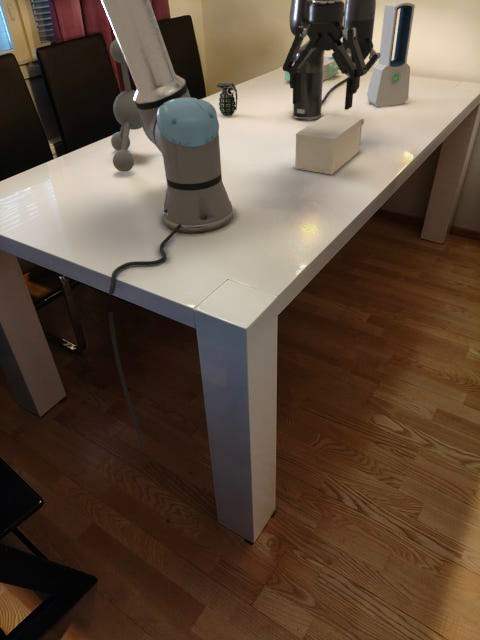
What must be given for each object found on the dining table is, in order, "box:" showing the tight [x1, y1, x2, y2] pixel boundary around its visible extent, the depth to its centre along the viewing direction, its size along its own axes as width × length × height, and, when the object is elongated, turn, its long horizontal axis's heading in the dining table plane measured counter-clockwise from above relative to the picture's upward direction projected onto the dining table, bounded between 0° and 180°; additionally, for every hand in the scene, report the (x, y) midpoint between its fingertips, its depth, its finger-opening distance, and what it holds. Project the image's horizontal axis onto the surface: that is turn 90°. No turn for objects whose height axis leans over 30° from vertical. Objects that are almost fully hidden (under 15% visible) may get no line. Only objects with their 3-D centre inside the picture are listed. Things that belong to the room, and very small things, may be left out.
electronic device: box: [366, 0, 416, 108], centre depth 163 cm, size 12×8×30 cm, turn 105°
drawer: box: [359, 118, 365, 147], centre depth 132 cm, size 22×9×7 cm, turn 148°
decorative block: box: [284, 56, 340, 82], centre depth 206 cm, size 26×6×20 cm
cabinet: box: [294, 114, 362, 176], centre depth 128 cm, size 18×10×9 cm, turn 148°
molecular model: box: [109, 38, 143, 173], centre depth 130 cm, size 24×22×30 cm
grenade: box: [215, 82, 238, 117], centre depth 166 cm, size 7×6×10 cm
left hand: (321, 105), depth 118 cm, fingers open, 13 cm apart
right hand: (352, 91), depth 132 cm, fingers closed
